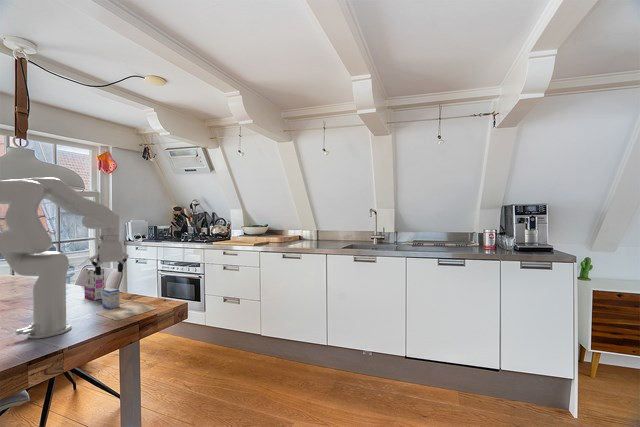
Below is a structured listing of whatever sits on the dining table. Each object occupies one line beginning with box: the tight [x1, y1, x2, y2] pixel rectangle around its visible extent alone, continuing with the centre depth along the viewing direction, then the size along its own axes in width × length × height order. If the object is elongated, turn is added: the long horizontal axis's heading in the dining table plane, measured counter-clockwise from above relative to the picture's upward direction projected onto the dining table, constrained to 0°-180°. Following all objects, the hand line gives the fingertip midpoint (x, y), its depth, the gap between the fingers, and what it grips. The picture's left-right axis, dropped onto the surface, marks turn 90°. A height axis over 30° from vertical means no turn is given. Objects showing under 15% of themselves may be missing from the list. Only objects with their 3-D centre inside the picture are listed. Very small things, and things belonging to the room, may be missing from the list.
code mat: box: [96, 302, 158, 322], centre depth 140 cm, size 18×18×1 cm
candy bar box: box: [83, 266, 105, 302], centre depth 162 cm, size 11×5×16 cm, turn 60°
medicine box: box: [101, 287, 121, 310], centre depth 147 cm, size 8×4×9 cm, turn 59°
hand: (109, 273), depth 146 cm, fingers open, 9 cm apart
